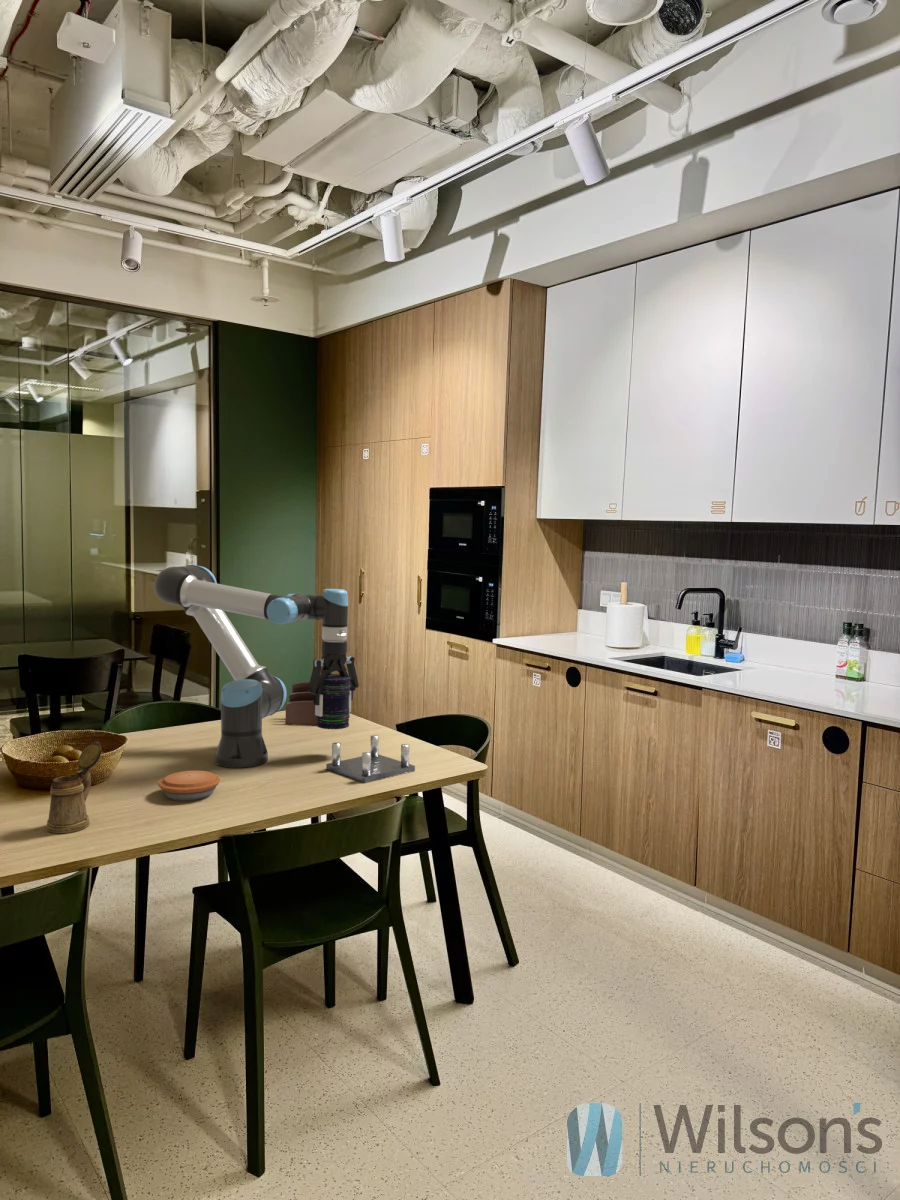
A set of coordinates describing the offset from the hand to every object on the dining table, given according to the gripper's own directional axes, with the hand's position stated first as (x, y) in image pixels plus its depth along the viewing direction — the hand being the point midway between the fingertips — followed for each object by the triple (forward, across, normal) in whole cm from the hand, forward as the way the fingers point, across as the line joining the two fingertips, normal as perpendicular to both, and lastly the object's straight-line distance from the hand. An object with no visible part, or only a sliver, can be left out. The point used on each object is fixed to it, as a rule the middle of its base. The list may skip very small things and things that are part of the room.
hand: (333, 713), depth 257 cm
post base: (+13, -1, -20) cm, 23 cm away
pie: (+14, -50, -6) cm, 52 cm away
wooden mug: (+14, -80, -10) cm, 82 cm away
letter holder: (+14, +23, +42) cm, 50 cm away
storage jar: (+4, 0, 0) cm, 4 cm away
